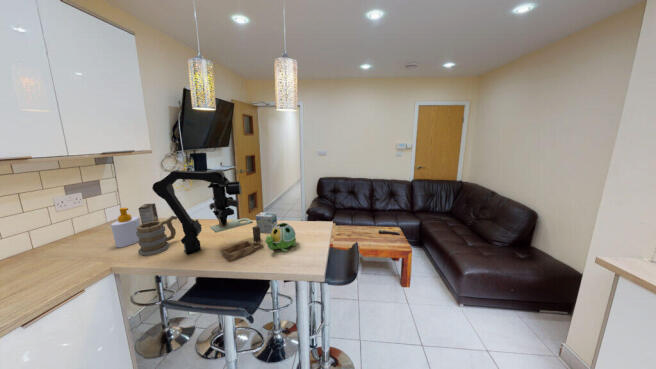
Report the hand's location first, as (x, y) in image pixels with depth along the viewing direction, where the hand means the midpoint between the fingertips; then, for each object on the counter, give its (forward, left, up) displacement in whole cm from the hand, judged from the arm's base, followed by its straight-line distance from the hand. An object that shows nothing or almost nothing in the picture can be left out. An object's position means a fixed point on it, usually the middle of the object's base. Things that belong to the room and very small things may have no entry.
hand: (223, 224), depth 124 cm
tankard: (-24, +27, -13) cm, 38 cm away
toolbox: (+4, -12, -13) cm, 18 cm away
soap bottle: (-36, +47, -13) cm, 60 cm away
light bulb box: (+26, +3, -13) cm, 29 cm away
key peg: (+15, -5, -13) cm, 20 cm away
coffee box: (-24, +61, -13) cm, 67 cm away
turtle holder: (+20, -22, -13) cm, 33 cm away
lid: (+4, 0, -2) cm, 5 cm away
